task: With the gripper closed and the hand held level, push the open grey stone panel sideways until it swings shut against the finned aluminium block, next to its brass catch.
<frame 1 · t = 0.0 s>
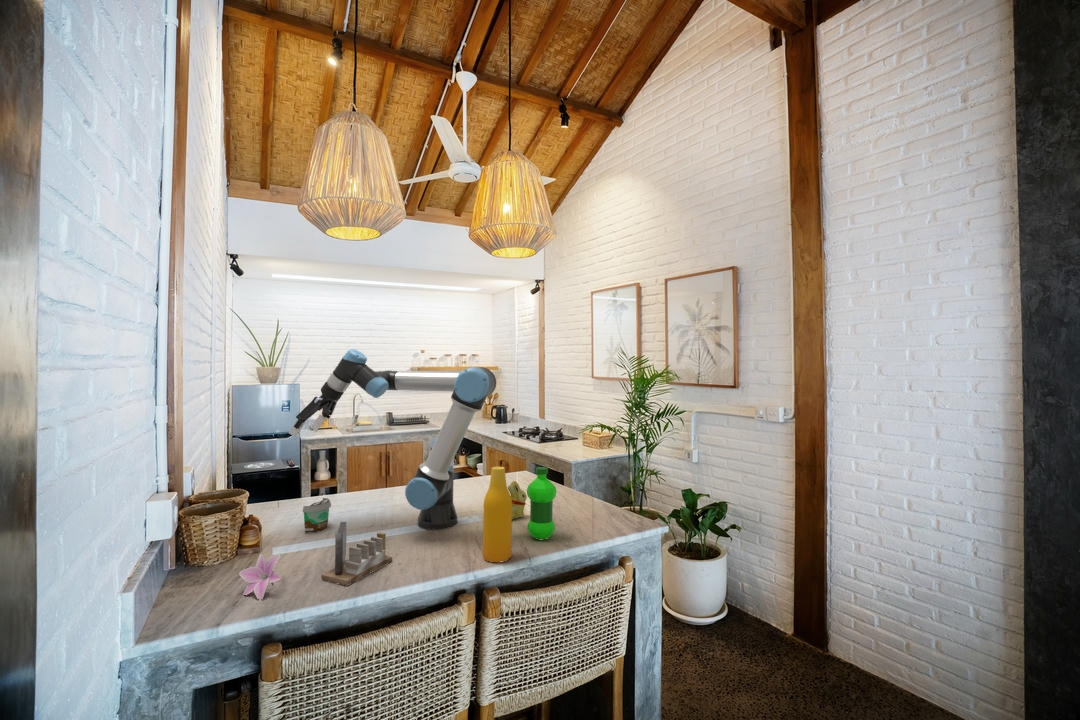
hand: (303, 432, 188), 36 cm above the counter, tool tilted 35°, fingers open, 13 cm apart
beer bottle: (497, 558, 162), on the counter
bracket: (358, 570, 151), on the counter
grey stone panel: (341, 544, 153), point 7 cm above the counter, hinge at 40.0°
lily: (261, 593, 137), on the counter
chocolate bunny: (513, 518, 203), on the counter
plastic bottle: (541, 538, 181), on the counter
food container: (320, 529, 187), on the counter
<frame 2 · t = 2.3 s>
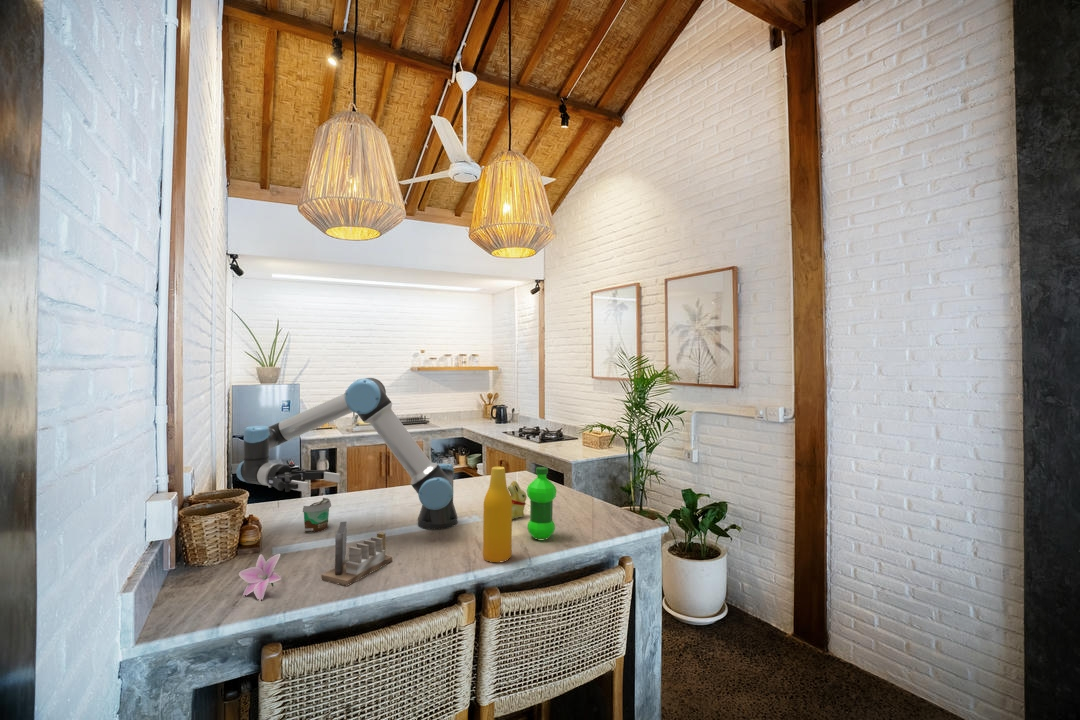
hand: (324, 482, 160), 24 cm above the counter, tool horizontal, fingers open, 12 cm apart
nothing on the counter moved.
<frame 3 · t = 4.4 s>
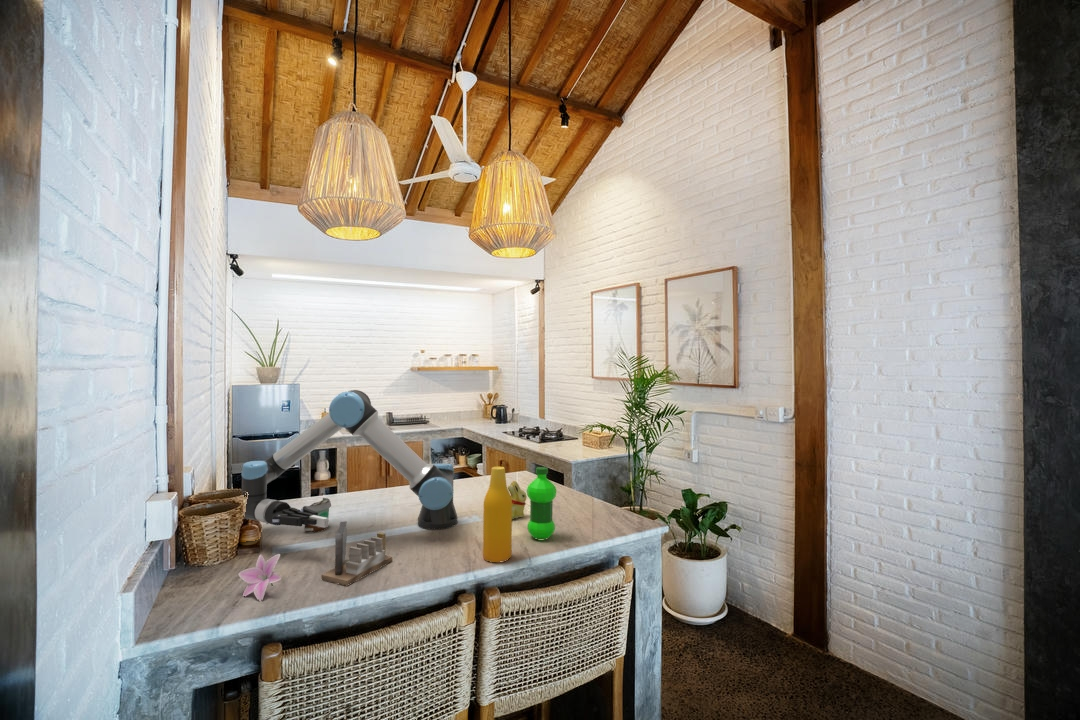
hand: (326, 522, 159), 12 cm above the counter, tool horizontal, fingers closed
nothing on the counter moved.
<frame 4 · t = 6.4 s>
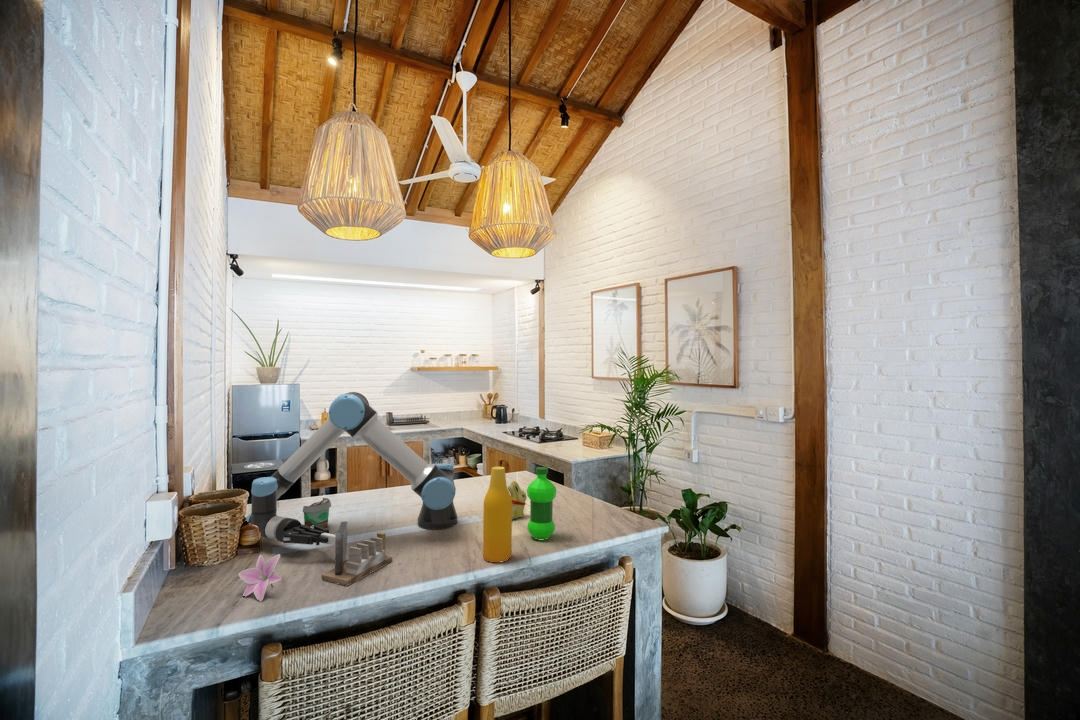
hand: (338, 540, 157), 7 cm above the counter, tool horizontal, fingers closed
grey stone panel: (341, 544, 153), point 7 cm above the counter, hinge at 39.0°, touching gripper
everything else where it was.
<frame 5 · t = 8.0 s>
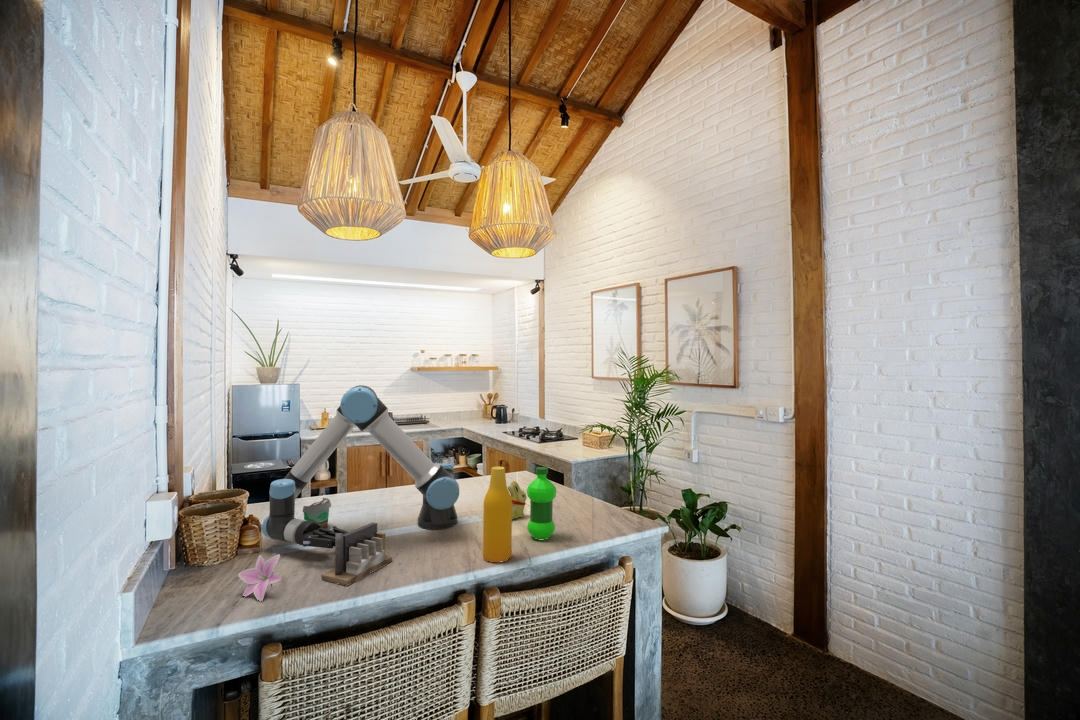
hand: (359, 544, 154), 7 cm above the counter, tool horizontal, fingers closed, pressing on grey stone panel
grey stone panel: (359, 545, 153), point 7 cm above the counter, hinge at -1.2°, touching gripper
everything else where it was.
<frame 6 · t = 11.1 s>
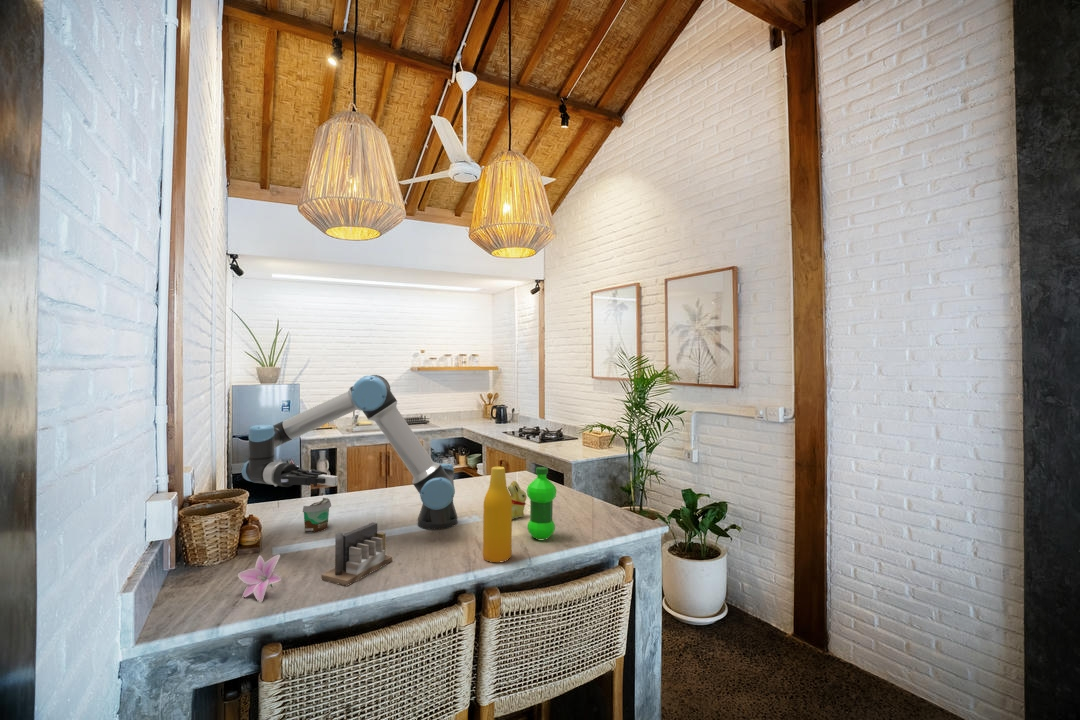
hand: (335, 481, 158), 25 cm above the counter, tool horizontal, fingers closed
grey stone panel: (359, 545, 153), point 7 cm above the counter, hinge at -1.8°, touching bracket
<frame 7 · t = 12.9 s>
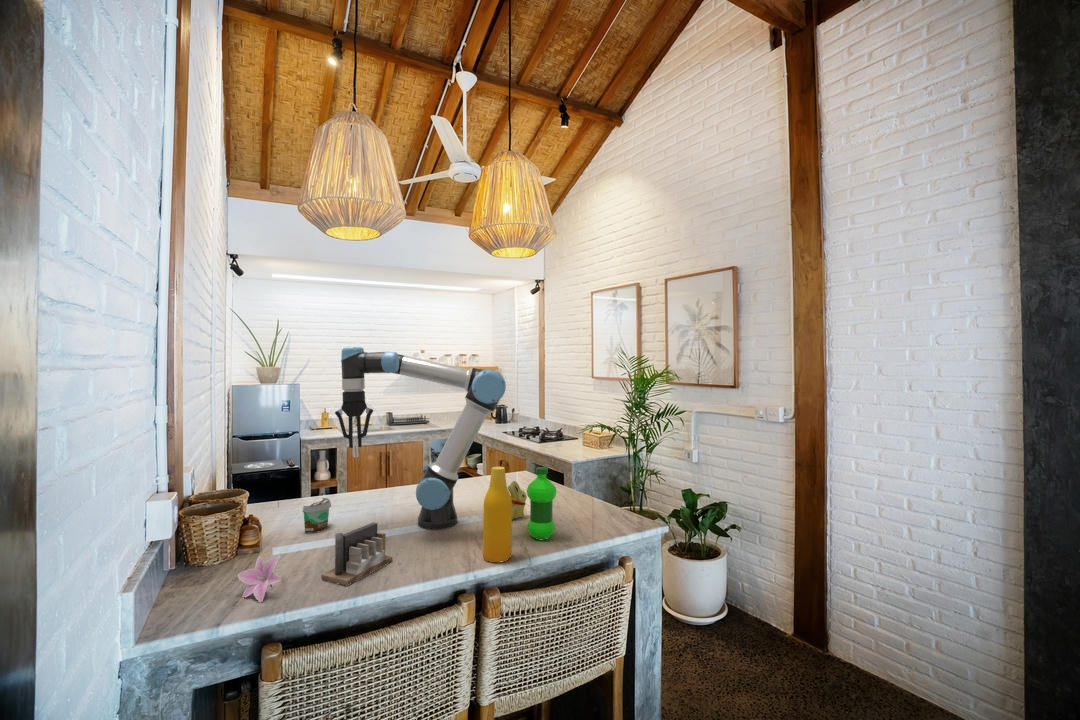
hand: (355, 456, 179), 29 cm above the counter, tool pointing down, fingers closed
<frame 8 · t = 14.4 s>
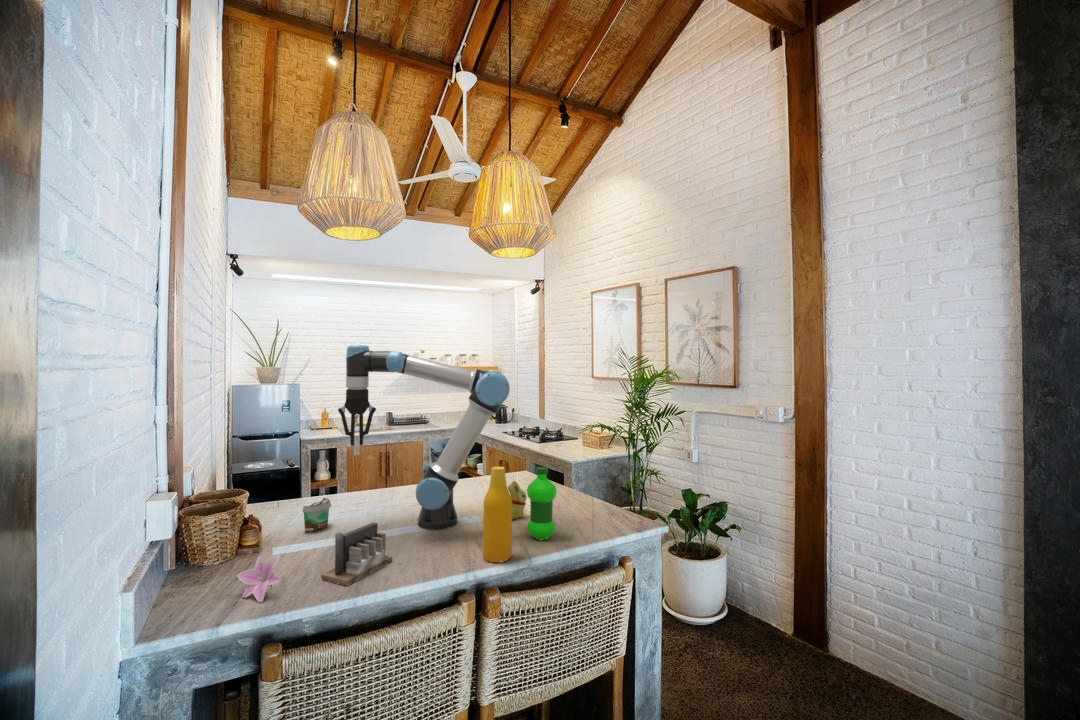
hand: (356, 454, 179), 29 cm above the counter, tool pointing down, fingers closed
at the end: grey stone panel at -2° (first picture: +40°) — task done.
